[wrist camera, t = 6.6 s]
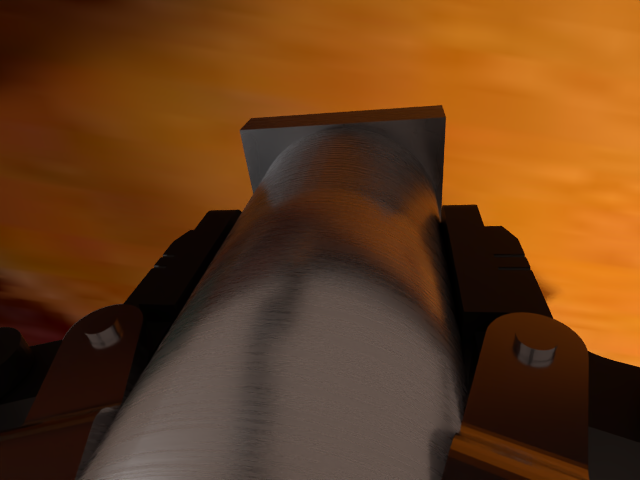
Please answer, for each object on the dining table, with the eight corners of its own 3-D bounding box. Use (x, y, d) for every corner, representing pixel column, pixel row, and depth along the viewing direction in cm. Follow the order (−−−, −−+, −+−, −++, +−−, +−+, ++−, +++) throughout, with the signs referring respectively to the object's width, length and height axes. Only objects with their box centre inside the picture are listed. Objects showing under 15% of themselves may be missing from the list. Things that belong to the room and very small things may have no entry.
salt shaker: (441, 105, 11) (741, 1008, 1) (434, 266, 13) (524, 944, 4) (251, 118, 11) (-313, 717, 2) (280, 266, 14) (70, 818, 5)
